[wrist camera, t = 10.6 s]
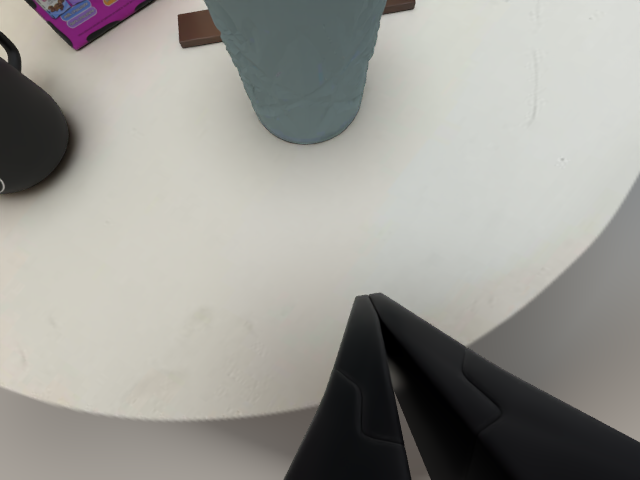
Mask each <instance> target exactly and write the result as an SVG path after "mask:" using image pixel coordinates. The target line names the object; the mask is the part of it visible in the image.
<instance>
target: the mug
mask: <svg viewBox="0 0 640 480" xmlns="http://www.w3.org/2000/svg"><path fill="white" fill-rule="evenodd" d="M0 44H1V45H2V46H3V48H4V49H5V50H6V52H7V55H8V62H6V61H5V60H4V59H2V58H1V57H0V194H7V193H14V192H18V191H21V190H24V189H27V188H29V187H31V186H34V185H35V184H37V183H39V182H40V181H42V180H43V179H44V178H46V177H47V176H48V175H49V174H50V173H51V172H52V171H53V170H54V169H55V168H56V166H57V165H58V164H59V162H60V161H61V159H62V157H63V155H64V153H65V150H66V148H67V144H68V126H67V123H66V120H65V117H64V115H63V113H62V112H61V110H60V108H59V106H58V105H57V103H56V102H55V101H54V100H53V99H52V97H51V96H50V95H49V94H47V93H46V92H45V91H44V90H43V89H41V88H40V87H39V86H38V85H36V84H35V83H34V82H32V81H31V80H30V79H28V78H27V77H26V76H24V75H23V74H22V73H21V57H20V54H19V51H18V49H17V48H16V46H15V45H14V44H13V43H12V42H11V41H10V40H9V39H8V38H7V37H6V36H5V35H4V34H3V33H2V32H1V31H0Z"/></svg>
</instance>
